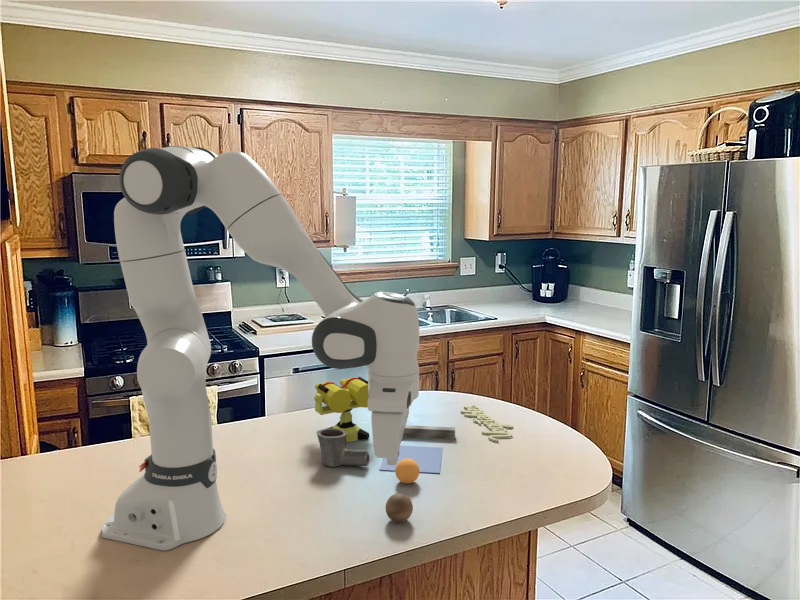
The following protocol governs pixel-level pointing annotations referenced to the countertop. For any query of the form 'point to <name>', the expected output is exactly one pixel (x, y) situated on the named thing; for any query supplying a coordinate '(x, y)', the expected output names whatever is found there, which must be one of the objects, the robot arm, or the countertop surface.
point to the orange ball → (407, 471)
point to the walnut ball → (399, 507)
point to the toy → (343, 404)
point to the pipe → (339, 449)
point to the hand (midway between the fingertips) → (393, 460)
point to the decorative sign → (487, 423)
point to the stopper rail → (429, 432)
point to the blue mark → (418, 458)
